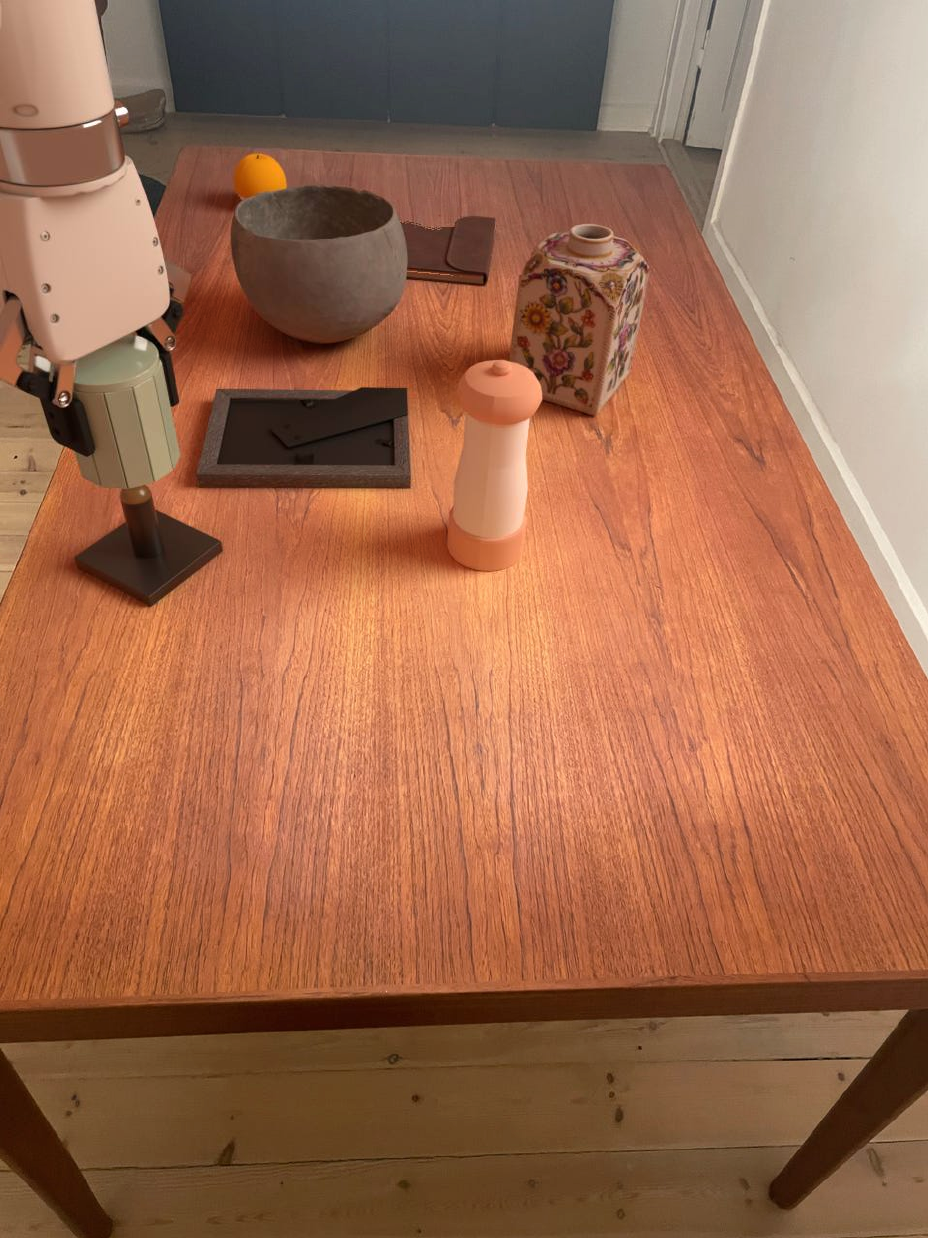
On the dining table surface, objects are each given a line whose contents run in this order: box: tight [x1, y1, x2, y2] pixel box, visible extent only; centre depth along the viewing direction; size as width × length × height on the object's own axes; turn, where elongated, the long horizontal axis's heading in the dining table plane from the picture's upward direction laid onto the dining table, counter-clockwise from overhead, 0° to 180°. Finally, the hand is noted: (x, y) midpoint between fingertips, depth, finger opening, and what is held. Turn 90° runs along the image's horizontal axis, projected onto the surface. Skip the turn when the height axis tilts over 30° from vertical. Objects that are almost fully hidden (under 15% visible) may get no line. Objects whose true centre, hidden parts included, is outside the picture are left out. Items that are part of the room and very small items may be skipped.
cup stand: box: [73, 485, 224, 608], centre depth 79 cm, size 9×9×8 cm
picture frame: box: [196, 386, 412, 489], centre depth 96 cm, size 16×2×21 cm
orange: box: [232, 153, 288, 198], centre depth 139 cm, size 8×8×8 cm
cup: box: [49, 333, 181, 490], centre depth 62 cm, size 7×10×8 cm
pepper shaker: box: [446, 359, 543, 572], centre depth 79 cm, size 7×7×19 cm
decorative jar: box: [508, 223, 651, 417], centre depth 102 cm, size 12×12×18 cm
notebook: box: [400, 215, 498, 286], centre depth 132 cm, size 15×20×2 cm
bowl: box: [230, 184, 408, 344], centre depth 109 cm, size 20×20×15 cm
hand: (119, 421), depth 62 cm, fingers closed on cup, 6 cm apart
